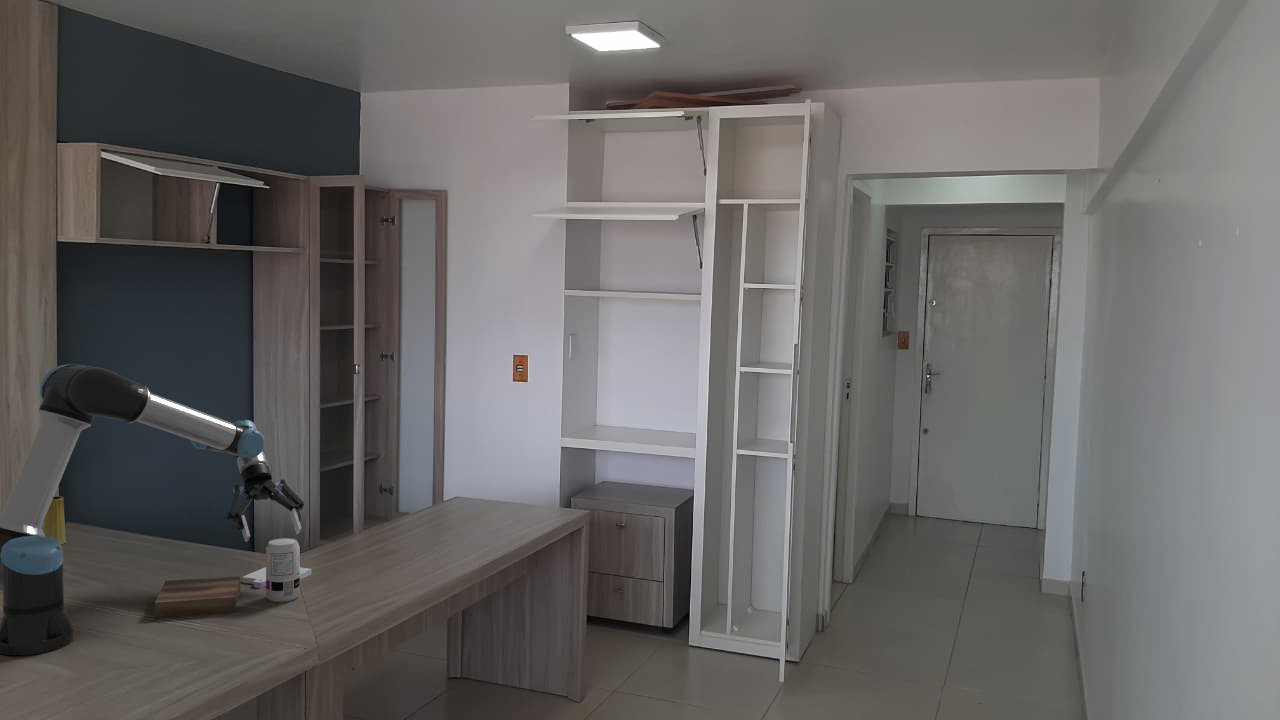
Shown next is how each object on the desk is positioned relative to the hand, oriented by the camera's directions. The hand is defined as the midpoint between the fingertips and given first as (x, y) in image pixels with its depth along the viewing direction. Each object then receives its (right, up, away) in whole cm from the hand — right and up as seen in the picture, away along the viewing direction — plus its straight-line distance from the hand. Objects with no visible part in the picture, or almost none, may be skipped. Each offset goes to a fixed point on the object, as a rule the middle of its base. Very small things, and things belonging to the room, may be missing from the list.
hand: (273, 535), depth 261 cm
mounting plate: (-3, -14, +11) cm, 18 cm away
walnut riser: (-14, -15, -12) cm, 24 cm away
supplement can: (+5, -16, -6) cm, 17 cm away
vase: (-82, -10, +39) cm, 91 cm away
